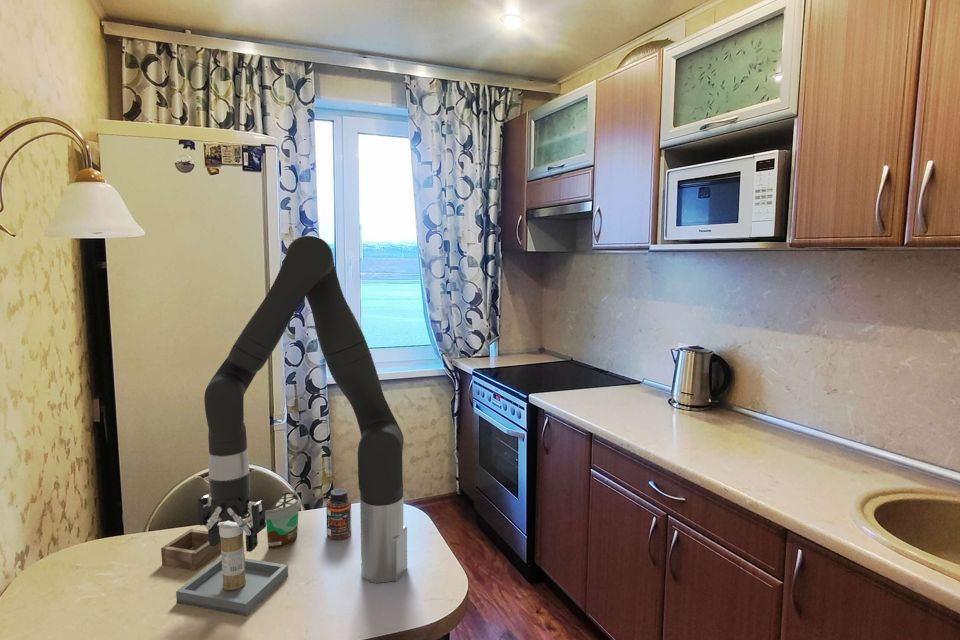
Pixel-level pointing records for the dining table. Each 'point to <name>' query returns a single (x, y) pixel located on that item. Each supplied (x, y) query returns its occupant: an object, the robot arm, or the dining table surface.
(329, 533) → the supplement bottle
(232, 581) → the sprinkles bottle
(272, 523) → the food container
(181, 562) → the socket
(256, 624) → the dining table surface
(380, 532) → the robot arm
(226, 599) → the tray
